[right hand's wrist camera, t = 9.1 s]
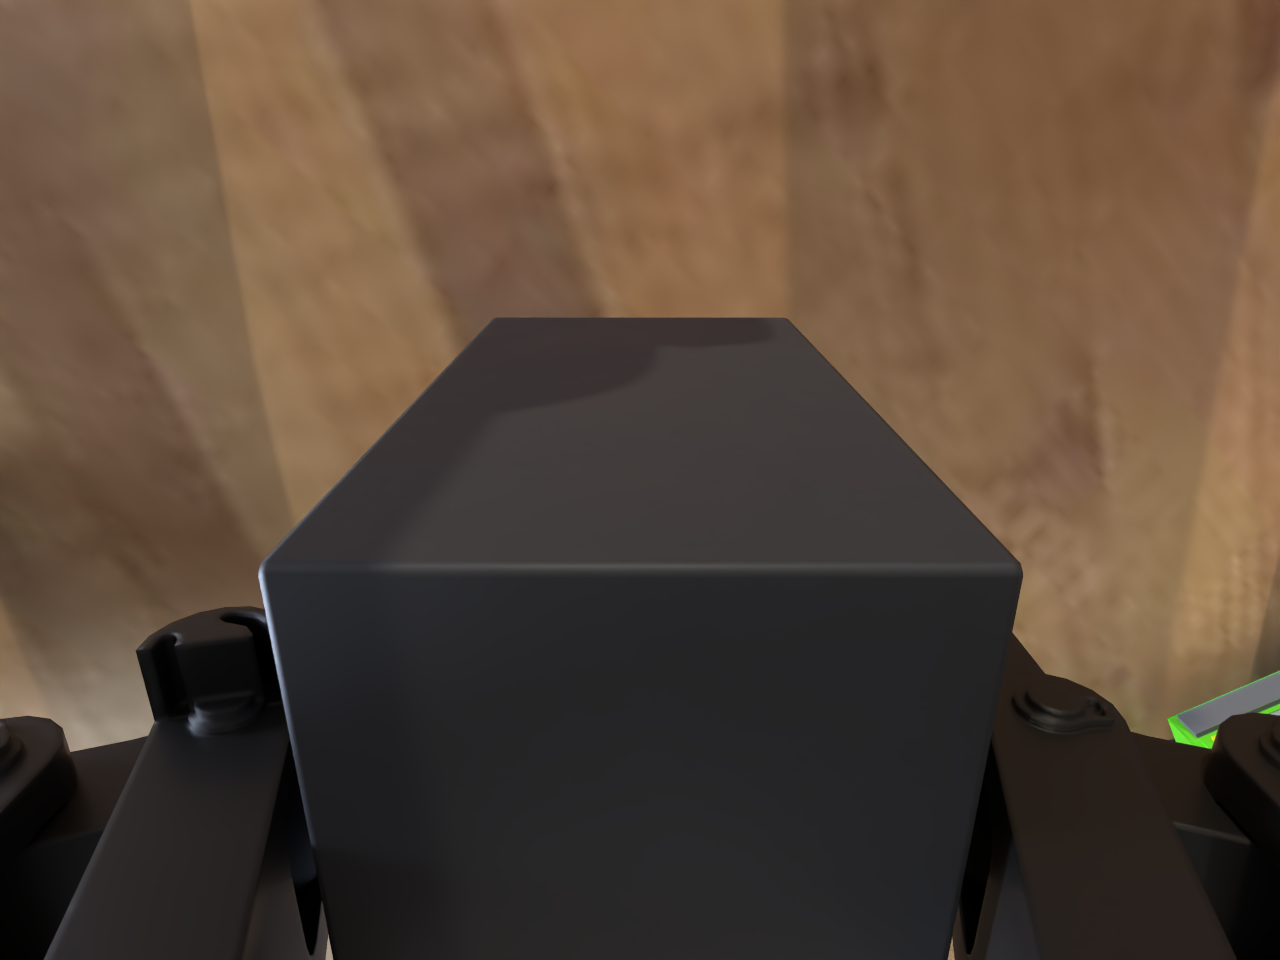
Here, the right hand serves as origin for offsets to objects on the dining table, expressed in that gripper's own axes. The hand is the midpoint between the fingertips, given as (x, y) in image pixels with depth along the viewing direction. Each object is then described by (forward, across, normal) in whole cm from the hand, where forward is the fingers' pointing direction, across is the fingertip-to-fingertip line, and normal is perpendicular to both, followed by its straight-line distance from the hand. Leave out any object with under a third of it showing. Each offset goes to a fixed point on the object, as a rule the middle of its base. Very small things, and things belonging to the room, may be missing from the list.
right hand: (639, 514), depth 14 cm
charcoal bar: (0, 0, -8) cm, 9 cm away
